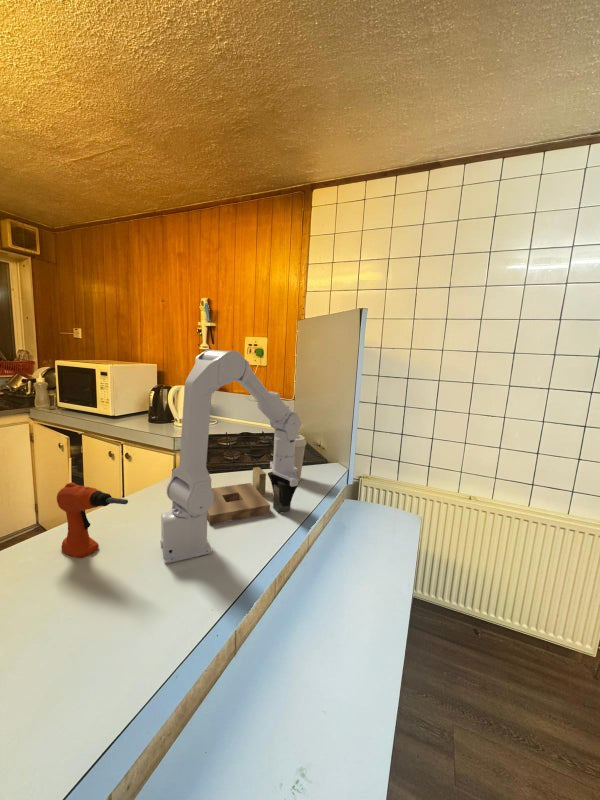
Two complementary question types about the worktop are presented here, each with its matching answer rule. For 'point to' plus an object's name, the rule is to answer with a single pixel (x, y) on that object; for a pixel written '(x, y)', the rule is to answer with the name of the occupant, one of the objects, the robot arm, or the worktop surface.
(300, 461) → the coffee cup
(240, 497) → the plate
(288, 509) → the square bit
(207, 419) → the robot arm
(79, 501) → the toy drill
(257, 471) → the block
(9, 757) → the worktop surface
